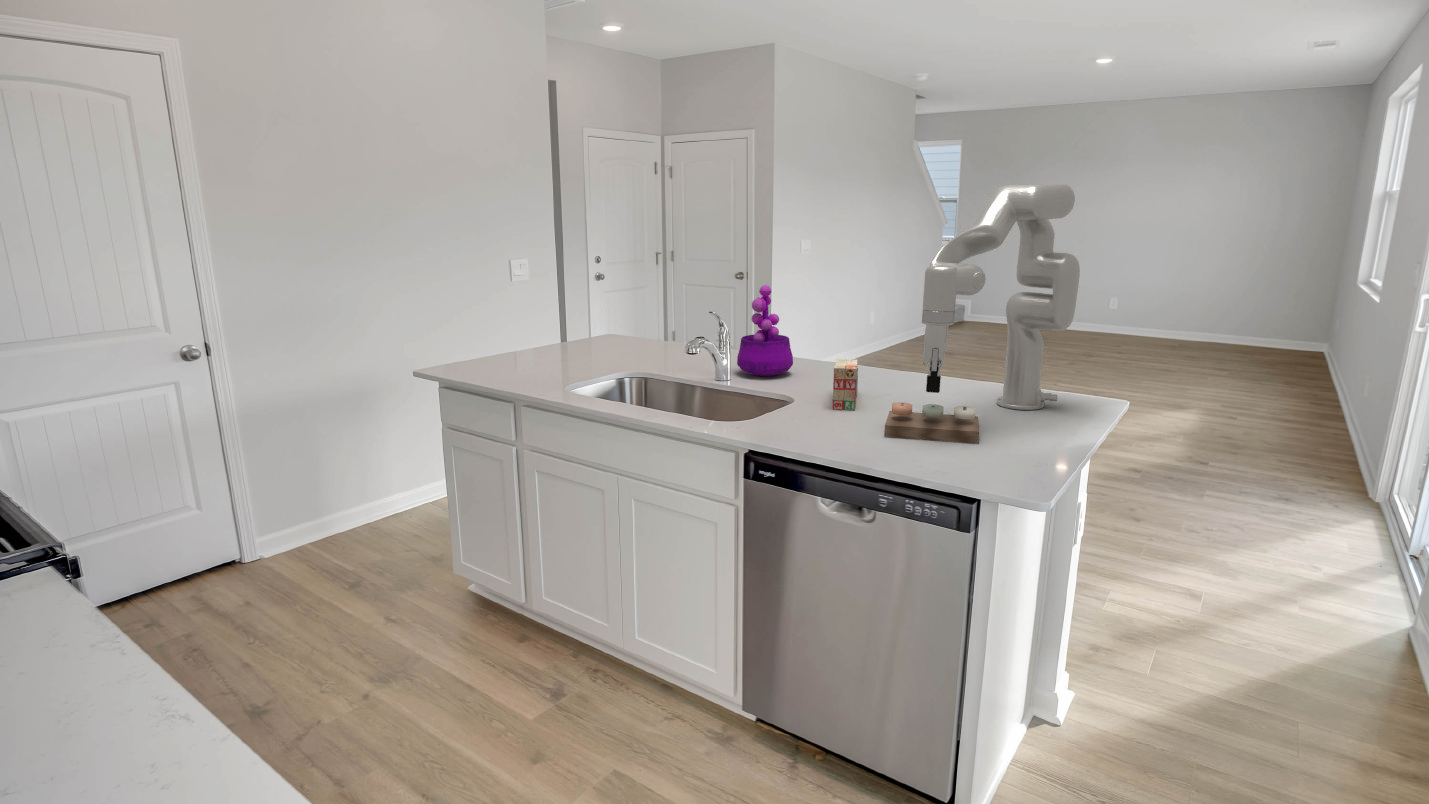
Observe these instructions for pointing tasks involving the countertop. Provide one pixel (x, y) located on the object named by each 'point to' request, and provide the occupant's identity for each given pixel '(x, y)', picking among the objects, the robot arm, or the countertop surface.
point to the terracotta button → (901, 408)
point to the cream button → (964, 412)
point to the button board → (932, 428)
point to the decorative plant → (765, 342)
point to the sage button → (932, 410)
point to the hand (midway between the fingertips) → (932, 391)
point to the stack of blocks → (845, 384)
